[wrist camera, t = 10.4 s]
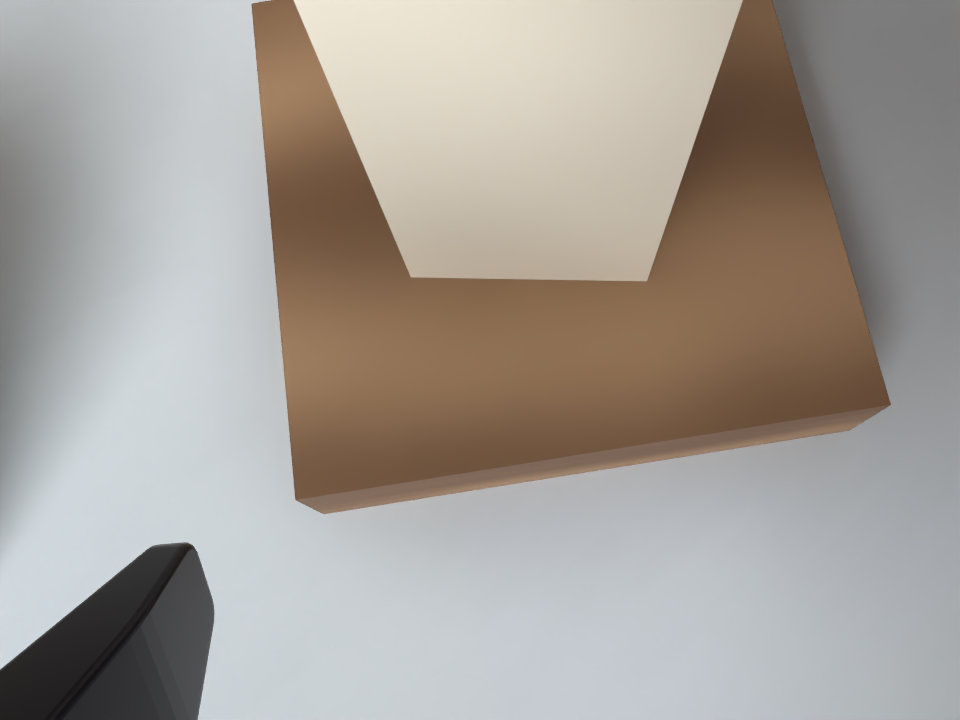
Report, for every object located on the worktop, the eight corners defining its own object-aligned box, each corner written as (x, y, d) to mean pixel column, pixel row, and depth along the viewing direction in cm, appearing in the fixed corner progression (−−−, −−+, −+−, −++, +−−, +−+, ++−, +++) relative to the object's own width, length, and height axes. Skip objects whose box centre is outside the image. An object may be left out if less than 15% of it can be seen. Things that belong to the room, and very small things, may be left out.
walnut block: (841, 435, 20) (891, 404, 18) (329, 517, 21) (295, 500, 18) (722, 3, 24) (748, -81, 21) (285, 77, 24) (251, 3, 21)
